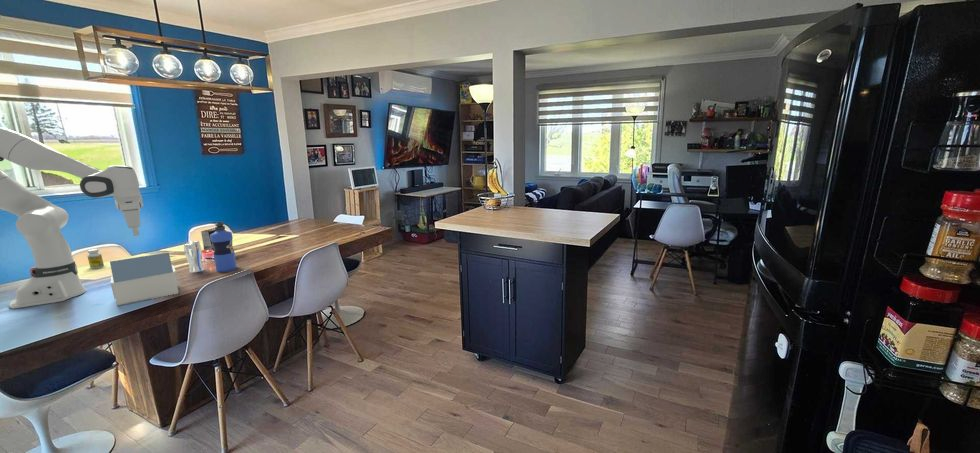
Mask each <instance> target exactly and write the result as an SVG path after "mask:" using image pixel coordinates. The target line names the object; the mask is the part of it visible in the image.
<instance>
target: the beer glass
mask: <svg viewBox="0 0 980 453" xmlns="http://www.w3.org/2000/svg"><path fill="white" fill-rule="evenodd" d="M201 246H202V245H201V243H200V241H199V240H195V241H194V240H193V241H188V242H187V241H186V242H184V243H183V251H184V255H185V258H186V260H187V263H188V267H189V268H188V269H189V271H188V272H189V273H192V274H194V273H200V272H203V271H204V270H205V269H204V267H203V263H202V259H203V258H202V257H203V256H202V255H203V254H202V253H203V251H202V247H201Z"/></svg>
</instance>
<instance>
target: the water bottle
mask: <svg viewBox="0 0 980 453" xmlns="http://www.w3.org/2000/svg"><path fill="white" fill-rule="evenodd" d="M214 228H215V230H216V231H215V232H214V233H212V234H211V235H210V238H211V242H212V245H213V248H214V259H213V260H214V264H215V270H216V272H217V273H226V272H232V271H234V270H237V268H238V265H237V261H236V260H237V258H236V255H235V254H236V253H235V250H234V247H233V233H232V231H228V230H226V227H225V223H223V222H222V221H217V222H216V223H215V224H214Z"/></svg>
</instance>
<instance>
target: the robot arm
mask: <svg viewBox="0 0 980 453" xmlns="http://www.w3.org/2000/svg"><path fill="white" fill-rule="evenodd" d="M4 160H6V161H9V162H11V163H13V164H16V165H18V166H21V167H23V168H27V169H30V170H34V171H50V172H51V171H52V172H61V173H66V174H70V175H72V176H74V177H77V178H79V179H81V180H80V182H79V189H80V190H81V192H82V193H83V194H84V195H85V196H88V198H94V199H96V198H97V199H98V198H100V199H101V198H105V197H106V198H107V197H110V196H112V197H113V200H114V204H115V209H116V210H118V211H120V212H121V213H122V214H123V217H124V220H125V223H126V225H127V227H128V228H129V229H131V231H132V233H133V236H139V235H140V233H139V228H140V227H141V219H140V211H141V208H142V207H144V206H145V204H144V201H143V196H142V194H141V191H140V182H139V178H138V175H137V172H136V171H135V169H134V168H133V167H131V166H129V165H124V164H121V165H120V164H111V165H109V166H108V167H106V168H104V169H103V170H102V169H99V168H97V167H95V166H92V165H89V164H88V163H85V162H83V161H80V160H77V159H75V158H72V157H70V156H69V155H66V154H64V153H62V152H60V151H57V150H55V149H54V148H52V147H50V146H47V145H45V144H44V143H42V142H39V141H37V140H36V139H33V138H31V137H29V136H27V135H25V134H23V133H19V132H17V131H15V130H11V129H8V128H5V127H1V126H0V162H3V161H4ZM0 210H1V211H5V212H8V213H10V214H13V215H15V216H17V217H18V218H17V219H16V221H15V227H16V229H17V231H18V232H19V233H20V234H22V236H23V237H24V239H25V241H26V243H27V244H28V246H29V247H30V249H31V253H32V256H33V259H34V260H33V261H34V264H35V266H32V267H31V268H30V269H29V271H30V272H29V273H30V276H31V278H29V279H28V280H27V281H26V282H24V283H22V285H20V286H19V287H18V288H17V290H16V291H15V299H13V300H11V301H10V302H9V304H8V305H9V308H10V309H13V310H14V309H19V308H27V307H33V306H40V305H46V304H53V303H58V302H59V303H60V302H63V301H66V300H68V299H71V298H74V297H78V296H80V295H83V294H85V293H86V292H87V289H86V288H85V287H84V285H83V283H82V282H81V280H80V277H79V275H78V274H79V272H78V266H77V264H76V262H75V261H74V258H73V255H72V251H71V246H70V244H69V242H67V240H66V239H65V237H64V235H63V233H62V231H61V230H62V229H63V227H65V226H66V225H67V223H68V222H69V218H70V216H69V214H68V212H67V211H66V210H65V209H64V208H62V207H60V206H58V205H55V204H54V203H52V202H51V201H50V200H49V201H48V200H47V199H46V198H43V197H42V196H40V195H38V194H36V193H34V192H32V191H31V190H29V189H28V188H27V187H25V186H24V185H22V184H21V183H20V182H18V181H17V180H16V179H15V178H13V177H11V175H9V174H7V173H6V172H4V171H3V170H2V169H0Z"/></svg>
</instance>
